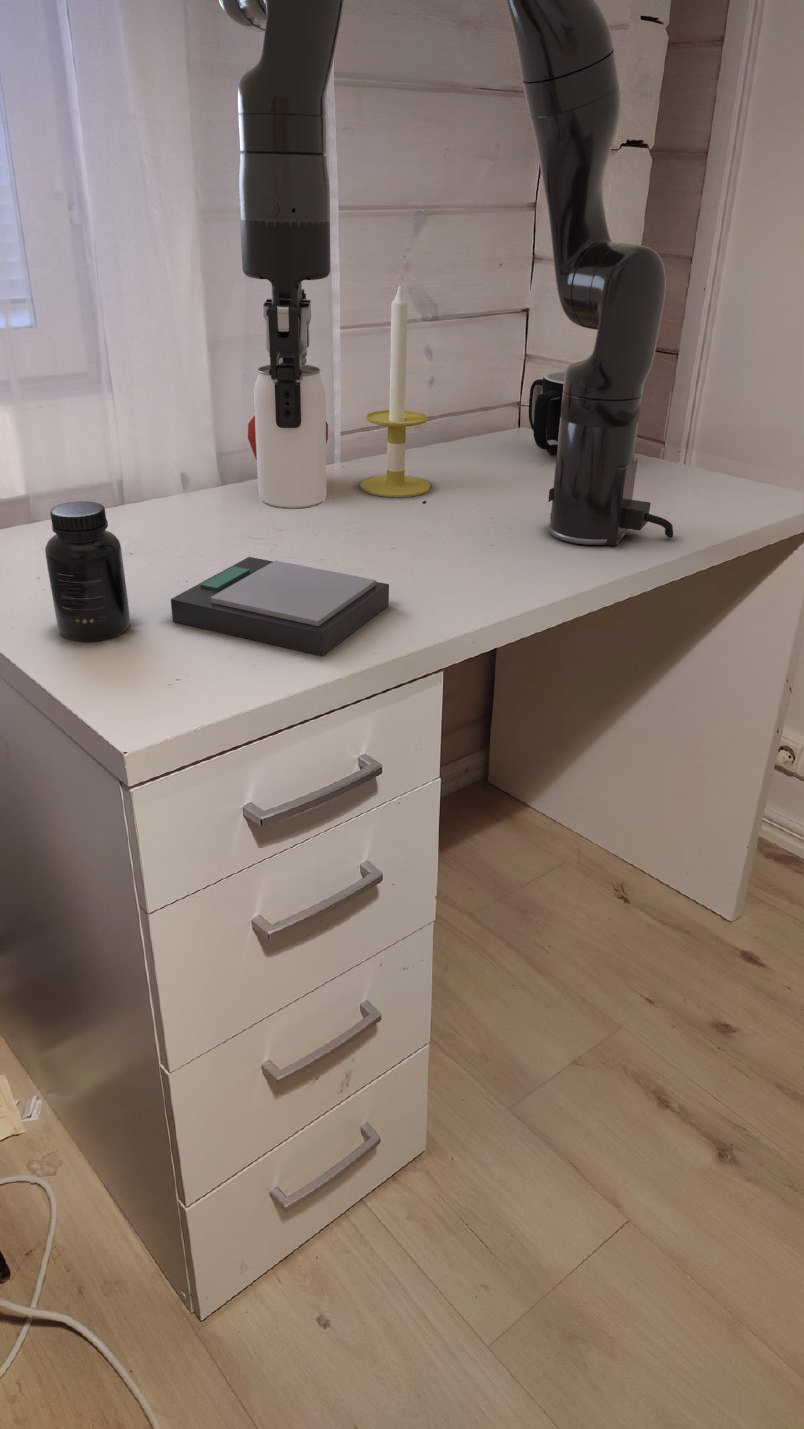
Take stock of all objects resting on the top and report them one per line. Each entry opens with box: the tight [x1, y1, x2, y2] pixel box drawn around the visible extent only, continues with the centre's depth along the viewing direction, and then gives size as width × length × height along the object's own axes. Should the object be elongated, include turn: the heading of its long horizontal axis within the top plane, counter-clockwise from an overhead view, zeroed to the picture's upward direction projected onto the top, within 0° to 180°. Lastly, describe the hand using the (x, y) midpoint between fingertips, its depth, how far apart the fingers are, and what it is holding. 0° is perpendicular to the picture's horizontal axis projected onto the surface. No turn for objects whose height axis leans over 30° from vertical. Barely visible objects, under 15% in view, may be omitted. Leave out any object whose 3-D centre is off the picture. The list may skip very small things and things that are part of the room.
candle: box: [359, 281, 431, 498], centre depth 137 cm, size 10×10×27 cm
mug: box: [528, 370, 566, 457], centre depth 160 cm, size 16×16×12 cm
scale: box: [170, 556, 390, 657], centre depth 101 cm, size 17×14×3 cm
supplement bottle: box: [44, 500, 131, 642], centre depth 95 cm, size 7×7×12 cm
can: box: [253, 364, 327, 510], centre depth 93 cm, size 6×6×12 cm
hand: (290, 417), depth 92 cm, fingers closed on can, 6 cm apart
